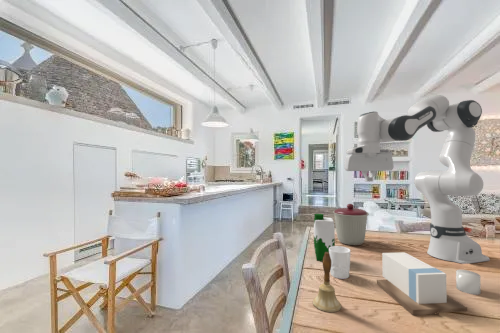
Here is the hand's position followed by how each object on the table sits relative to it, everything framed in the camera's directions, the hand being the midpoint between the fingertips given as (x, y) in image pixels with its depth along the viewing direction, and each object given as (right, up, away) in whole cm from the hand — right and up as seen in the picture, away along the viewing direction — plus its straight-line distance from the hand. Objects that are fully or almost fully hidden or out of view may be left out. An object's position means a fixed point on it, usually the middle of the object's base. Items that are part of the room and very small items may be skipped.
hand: (369, 181), depth 106 cm
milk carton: (-18, -36, +5) cm, 40 cm away
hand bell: (-28, -36, -31) cm, 55 cm away
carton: (+1, -29, -16) cm, 34 cm away
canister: (+3, -35, +27) cm, 45 cm away
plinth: (+2, -35, -28) cm, 45 cm away
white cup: (-17, -36, -12) cm, 41 cm away
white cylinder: (+21, -35, -25) cm, 48 cm away
